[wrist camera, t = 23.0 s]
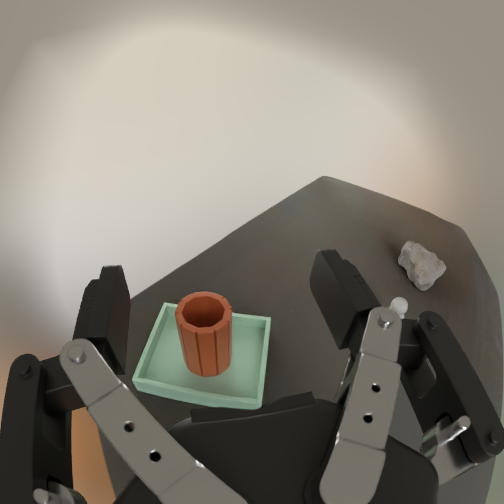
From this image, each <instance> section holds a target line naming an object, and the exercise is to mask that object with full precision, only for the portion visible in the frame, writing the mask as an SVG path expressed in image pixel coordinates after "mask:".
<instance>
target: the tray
mask: <svg viewBox="0 0 504 504" xmlns="http://www.w3.org/2000/svg"><path fill="white" fill-rule="evenodd" d="M176 308H177V305H176V304H170V303H164V304H163V307H162V309H161V311H160V313H159V316H158V318H157V320H156V323H155V325H154V327H153V330H152V332H151V334H150V337H149V339H148V341H147V344H146V346H145V349H144V351H143V354H142V356H141V358H140V361H139V363H138V366H137V368H136V371H135V373H134V376H133V378H132V381H133V383H134V385H135V387H136V388H137V390H138V391H142V392H146V393H149V394H153V395H157V396H162V397H166V398H170V399H175V400H179V401H184V402H189V403H194V404H199V405H205V406H210V407H229V408H239V409H258V408H260V407H261V405H262V398H263V389H264V380H265V371H266V362H267V353H268V343H269V334H270V324H271V318H269V317H261V316H253V315H245V314H237V313H232V357H231V362H230V366H228V369H226V370H225V371H224V372H223V373H221V374H220V375H218V374H217V376H212V377H203V375H202V377H201V376H199V375H197V374H195V373H193V372H191V371H190V370H189V369H188V368H187V366H186V364H185V361H184V358H183V354H182V349H181V344H180V339H179V334H178V329H177V324H176V319H175V310H176Z"/></svg>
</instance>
